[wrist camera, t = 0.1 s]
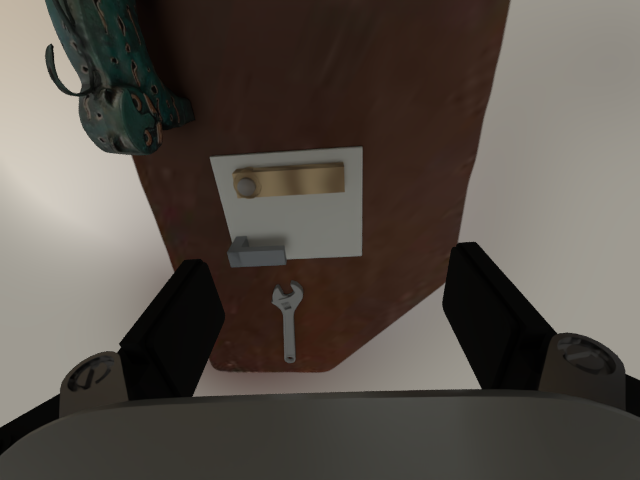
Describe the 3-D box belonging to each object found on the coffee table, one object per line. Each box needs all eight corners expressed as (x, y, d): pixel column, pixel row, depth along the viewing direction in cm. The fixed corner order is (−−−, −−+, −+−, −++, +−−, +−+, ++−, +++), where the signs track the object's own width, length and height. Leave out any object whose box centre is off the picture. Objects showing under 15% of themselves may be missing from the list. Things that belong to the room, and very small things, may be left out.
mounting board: (211, 156, 45) (195, 167, 40) (361, 146, 44) (366, 156, 38) (238, 259, 55) (228, 278, 50) (361, 253, 54) (365, 273, 48)
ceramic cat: (205, 131, 43) (124, 169, 26) (164, 134, 44) (57, 173, 26) (161, -47, 33) (-20, -176, 16) (108, -42, 34) (-124, -163, 16)
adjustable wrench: (296, 358, 71) (295, 364, 70) (270, 355, 71) (269, 361, 69) (304, 281, 58) (303, 287, 57) (273, 278, 58) (271, 283, 56)
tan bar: (240, 193, 47) (234, 202, 44) (235, 167, 45) (228, 174, 42) (344, 187, 46) (345, 195, 43) (343, 160, 44) (344, 167, 41)
